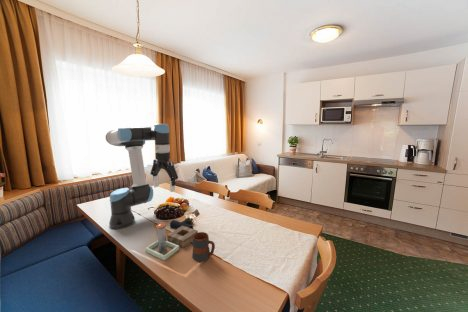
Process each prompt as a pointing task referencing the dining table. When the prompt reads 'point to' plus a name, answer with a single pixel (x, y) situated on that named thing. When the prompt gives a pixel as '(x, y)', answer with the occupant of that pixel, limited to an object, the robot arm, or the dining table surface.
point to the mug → (202, 247)
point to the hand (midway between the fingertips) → (164, 188)
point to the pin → (161, 237)
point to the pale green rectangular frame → (161, 256)
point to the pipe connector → (182, 223)
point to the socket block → (181, 236)
